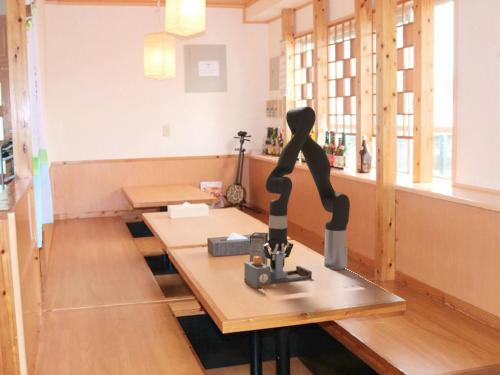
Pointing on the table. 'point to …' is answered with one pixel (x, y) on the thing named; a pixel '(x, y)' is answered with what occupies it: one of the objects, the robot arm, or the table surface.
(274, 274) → the carriage
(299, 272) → the rail bed
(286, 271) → the guide rails
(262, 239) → the coffee box
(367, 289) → the table surface
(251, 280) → the cabinet
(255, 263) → the button
